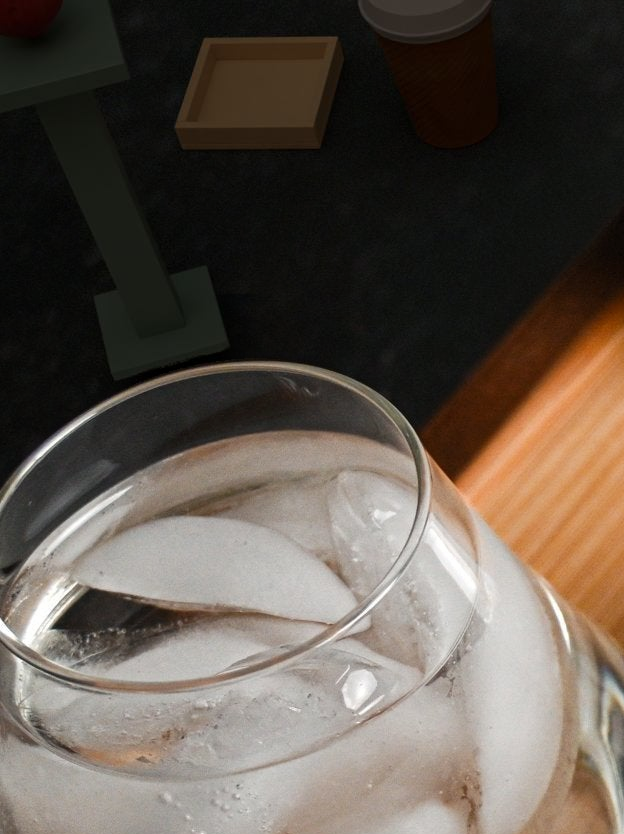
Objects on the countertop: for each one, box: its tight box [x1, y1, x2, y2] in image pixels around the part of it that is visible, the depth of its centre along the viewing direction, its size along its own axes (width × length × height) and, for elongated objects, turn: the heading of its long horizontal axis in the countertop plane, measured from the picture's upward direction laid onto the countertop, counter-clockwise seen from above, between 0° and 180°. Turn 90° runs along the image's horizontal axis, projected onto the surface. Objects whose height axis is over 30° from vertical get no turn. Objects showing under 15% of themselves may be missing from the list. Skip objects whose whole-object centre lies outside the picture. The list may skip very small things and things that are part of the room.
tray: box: [174, 36, 345, 151], centre depth 144 cm, size 10×10×2 cm
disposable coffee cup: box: [357, 0, 500, 149], centre depth 138 cm, size 10×10×12 cm
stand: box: [0, 0, 231, 382], centre depth 123 cm, size 9×9×23 cm
